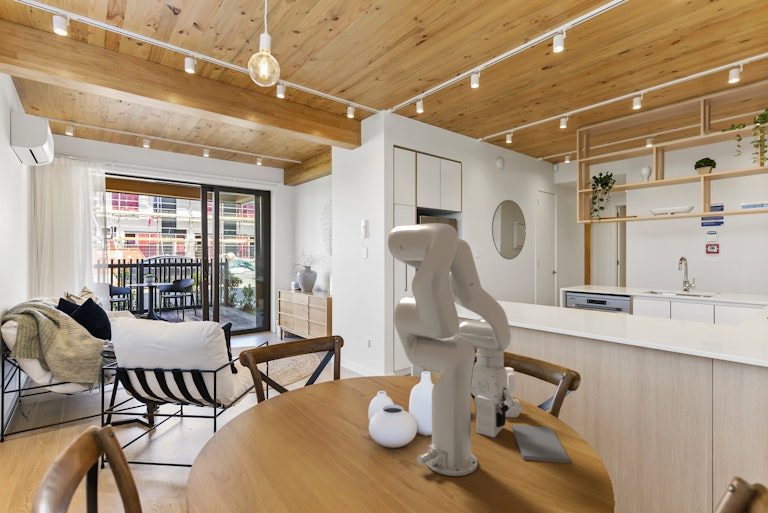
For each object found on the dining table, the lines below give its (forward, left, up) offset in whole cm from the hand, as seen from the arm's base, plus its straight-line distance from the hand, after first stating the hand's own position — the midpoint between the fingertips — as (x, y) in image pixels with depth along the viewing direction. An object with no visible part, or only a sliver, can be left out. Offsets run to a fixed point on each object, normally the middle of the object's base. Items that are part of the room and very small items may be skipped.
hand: (490, 420), depth 115 cm
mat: (+4, -13, -3) cm, 14 cm away
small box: (0, 0, -3) cm, 3 cm away
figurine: (+14, +4, -3) cm, 15 cm away
